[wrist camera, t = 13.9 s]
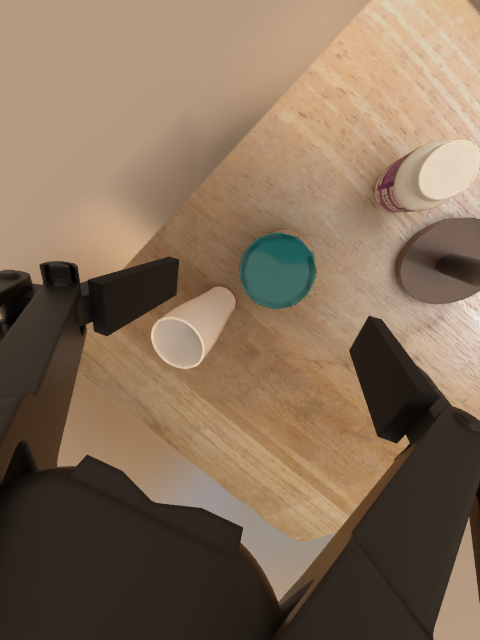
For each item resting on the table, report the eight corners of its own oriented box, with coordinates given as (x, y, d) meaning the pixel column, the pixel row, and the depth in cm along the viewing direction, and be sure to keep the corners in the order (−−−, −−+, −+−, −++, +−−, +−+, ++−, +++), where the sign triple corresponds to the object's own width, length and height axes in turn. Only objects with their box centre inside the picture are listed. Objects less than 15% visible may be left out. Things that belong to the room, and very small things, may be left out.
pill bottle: (363, 202, 27) (391, 194, 18) (393, 151, 24) (442, 114, 16) (405, 220, 26) (453, 220, 18) (439, 170, 24) (516, 142, 15)
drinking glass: (196, 297, 38) (139, 337, 25) (221, 272, 35) (172, 304, 22) (221, 325, 39) (180, 378, 26) (248, 304, 36) (217, 352, 23)
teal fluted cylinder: (264, 223, 30) (249, 223, 22) (321, 237, 29) (328, 244, 21) (251, 277, 34) (233, 296, 25) (300, 291, 33) (300, 317, 24)
